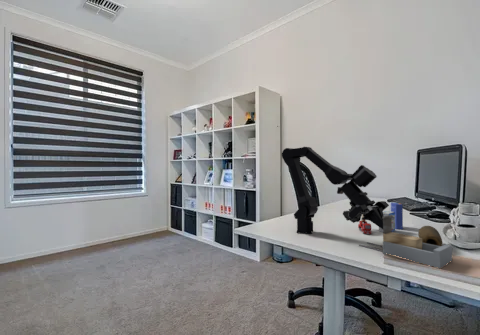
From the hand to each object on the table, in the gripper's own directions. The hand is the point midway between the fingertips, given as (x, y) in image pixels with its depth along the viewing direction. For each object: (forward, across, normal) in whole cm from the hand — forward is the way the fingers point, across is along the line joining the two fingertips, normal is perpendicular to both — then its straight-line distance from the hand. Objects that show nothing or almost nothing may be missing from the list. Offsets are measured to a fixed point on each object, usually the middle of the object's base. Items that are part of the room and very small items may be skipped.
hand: (385, 229), depth 89 cm
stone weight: (+10, -17, 0) cm, 20 cm away
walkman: (-5, -38, -15) cm, 41 cm away
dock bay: (+8, 0, -2) cm, 9 cm away
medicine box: (-4, -27, -14) cm, 31 cm away
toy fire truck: (-8, -19, -19) cm, 28 cm away
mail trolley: (+9, 0, -1) cm, 9 cm away
